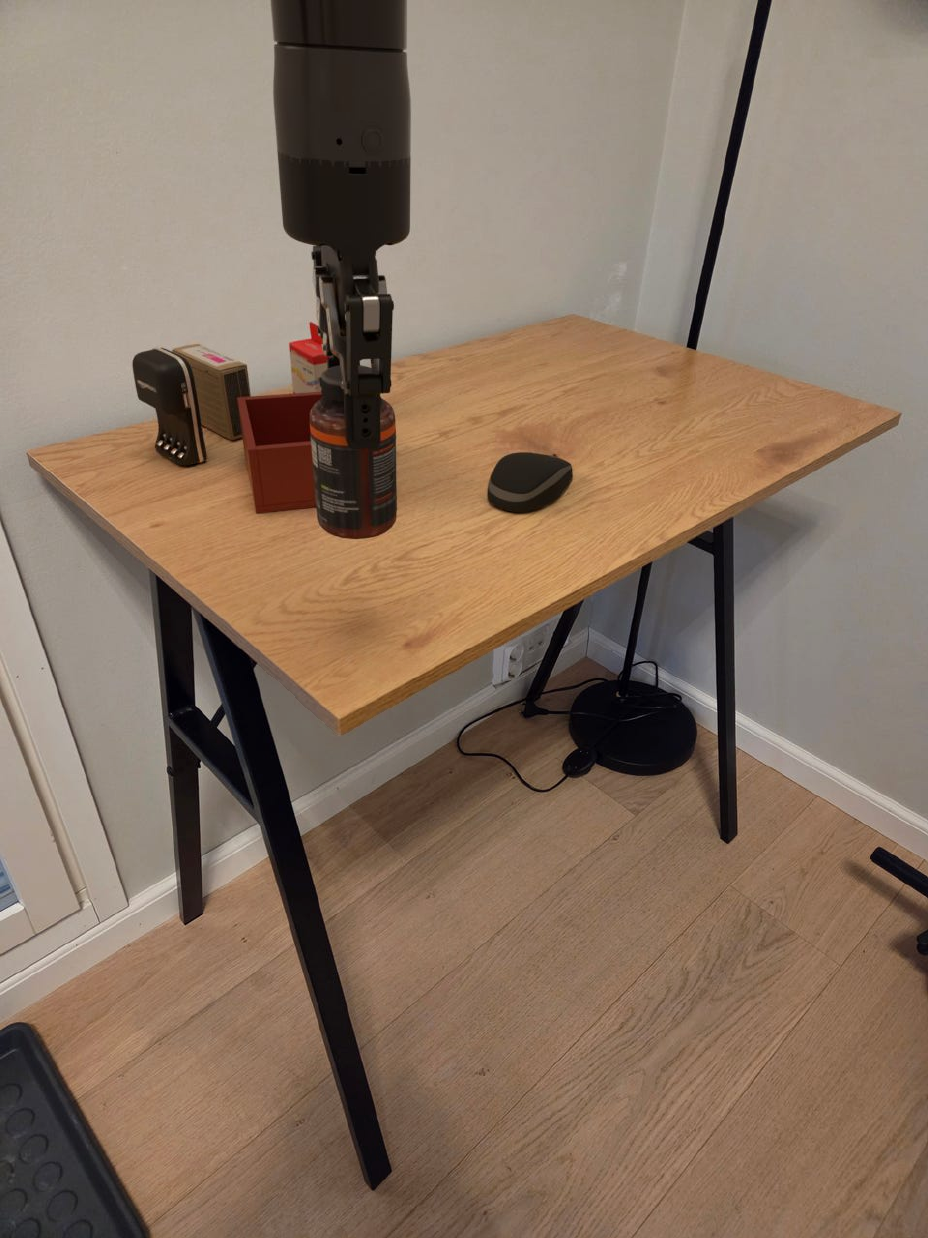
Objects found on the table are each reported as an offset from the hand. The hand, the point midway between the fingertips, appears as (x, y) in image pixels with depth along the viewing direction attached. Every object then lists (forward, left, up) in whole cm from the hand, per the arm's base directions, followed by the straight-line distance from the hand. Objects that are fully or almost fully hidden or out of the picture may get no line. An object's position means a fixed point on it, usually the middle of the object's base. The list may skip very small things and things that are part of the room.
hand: (353, 426), depth 55 cm
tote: (0, +27, -17) cm, 32 cm away
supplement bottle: (0, 0, -8) cm, 8 cm away
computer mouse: (+22, +19, -17) cm, 34 cm away
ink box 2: (+3, +45, -17) cm, 48 cm away
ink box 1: (-9, +43, -17) cm, 47 cm away
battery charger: (-14, +35, -17) cm, 41 cm away
